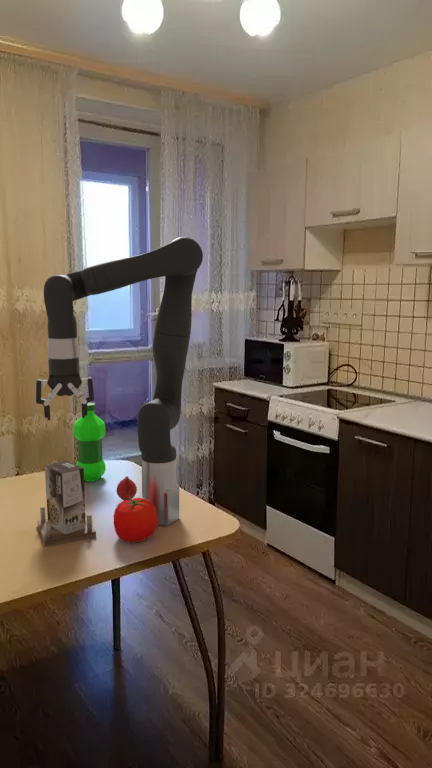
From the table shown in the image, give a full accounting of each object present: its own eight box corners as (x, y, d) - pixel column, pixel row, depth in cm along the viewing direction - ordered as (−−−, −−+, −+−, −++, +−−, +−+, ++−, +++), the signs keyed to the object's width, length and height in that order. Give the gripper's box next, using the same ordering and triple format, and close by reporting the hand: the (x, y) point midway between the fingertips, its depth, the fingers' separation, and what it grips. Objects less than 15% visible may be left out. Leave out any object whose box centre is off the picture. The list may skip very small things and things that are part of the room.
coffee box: (86, 528, 147) (85, 467, 144) (64, 535, 143) (61, 473, 140) (68, 517, 154) (66, 459, 151) (46, 524, 149) (43, 464, 146)
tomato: (129, 525, 153) (128, 488, 151) (167, 533, 148) (166, 495, 146) (102, 543, 142) (101, 504, 140) (141, 553, 137) (141, 512, 136)
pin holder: (96, 537, 145) (95, 516, 144) (44, 546, 140) (43, 524, 139) (85, 518, 157) (85, 499, 156) (37, 526, 152) (36, 506, 151)
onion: (113, 503, 167) (112, 477, 166) (123, 497, 173) (122, 471, 171) (130, 506, 165) (130, 480, 164) (140, 500, 170) (140, 474, 169)
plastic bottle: (75, 485, 182) (72, 408, 178) (75, 474, 192) (72, 401, 188) (107, 483, 184) (105, 406, 180) (105, 472, 194) (104, 400, 190)
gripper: (91, 353, 150) (93, 413, 153) (34, 354, 146) (37, 416, 149) (93, 356, 143) (95, 420, 146) (33, 358, 139) (36, 423, 142)
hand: (66, 418), depth 147 cm, fingers open, 8 cm apart
